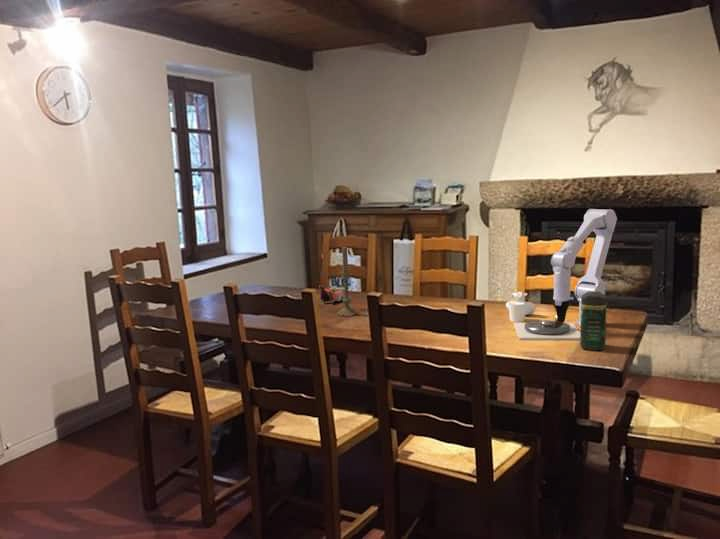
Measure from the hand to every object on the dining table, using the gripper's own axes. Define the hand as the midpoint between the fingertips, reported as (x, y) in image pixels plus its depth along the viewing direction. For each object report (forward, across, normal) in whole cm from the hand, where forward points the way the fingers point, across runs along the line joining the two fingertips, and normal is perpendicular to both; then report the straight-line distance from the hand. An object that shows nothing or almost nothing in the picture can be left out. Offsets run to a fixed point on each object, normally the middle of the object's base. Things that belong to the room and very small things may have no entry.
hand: (561, 321), depth 228 cm
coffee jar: (+4, -18, -13) cm, 23 cm away
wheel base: (+4, -3, +4) cm, 6 cm away
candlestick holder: (+4, 0, +90) cm, 90 cm away
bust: (+4, +21, +20) cm, 29 cm away
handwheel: (+2, -3, +4) cm, 6 cm away
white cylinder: (+4, +12, +19) cm, 23 cm away
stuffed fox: (+4, +21, +110) cm, 112 cm away
